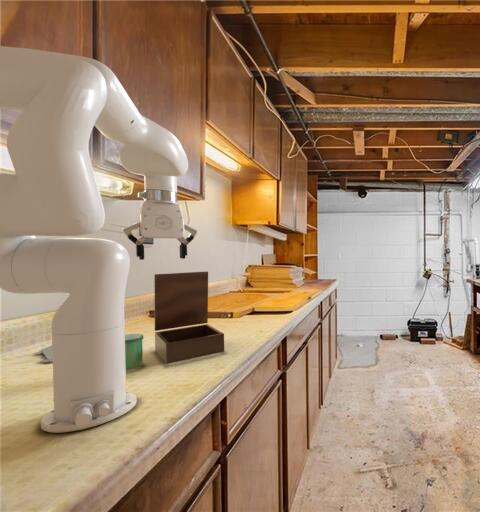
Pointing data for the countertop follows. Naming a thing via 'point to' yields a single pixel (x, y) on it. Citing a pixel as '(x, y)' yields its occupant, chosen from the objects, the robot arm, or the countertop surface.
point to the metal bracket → (46, 354)
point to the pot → (133, 350)
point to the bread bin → (188, 343)
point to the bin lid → (180, 299)
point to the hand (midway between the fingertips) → (162, 258)
